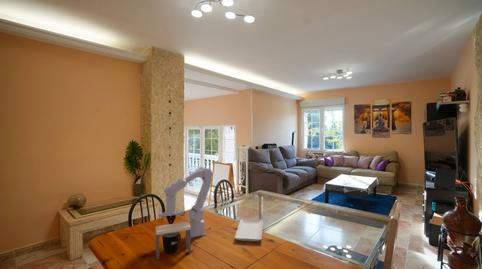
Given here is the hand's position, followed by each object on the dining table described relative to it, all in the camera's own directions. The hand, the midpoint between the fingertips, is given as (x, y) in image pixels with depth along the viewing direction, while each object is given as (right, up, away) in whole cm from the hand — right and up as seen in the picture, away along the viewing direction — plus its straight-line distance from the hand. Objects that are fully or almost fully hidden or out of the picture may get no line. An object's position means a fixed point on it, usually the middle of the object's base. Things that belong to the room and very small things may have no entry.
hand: (171, 227), depth 139 cm
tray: (+49, -9, +14) cm, 52 cm away
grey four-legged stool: (+5, -9, -12) cm, 16 cm away
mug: (+4, -9, -9) cm, 14 cm away
